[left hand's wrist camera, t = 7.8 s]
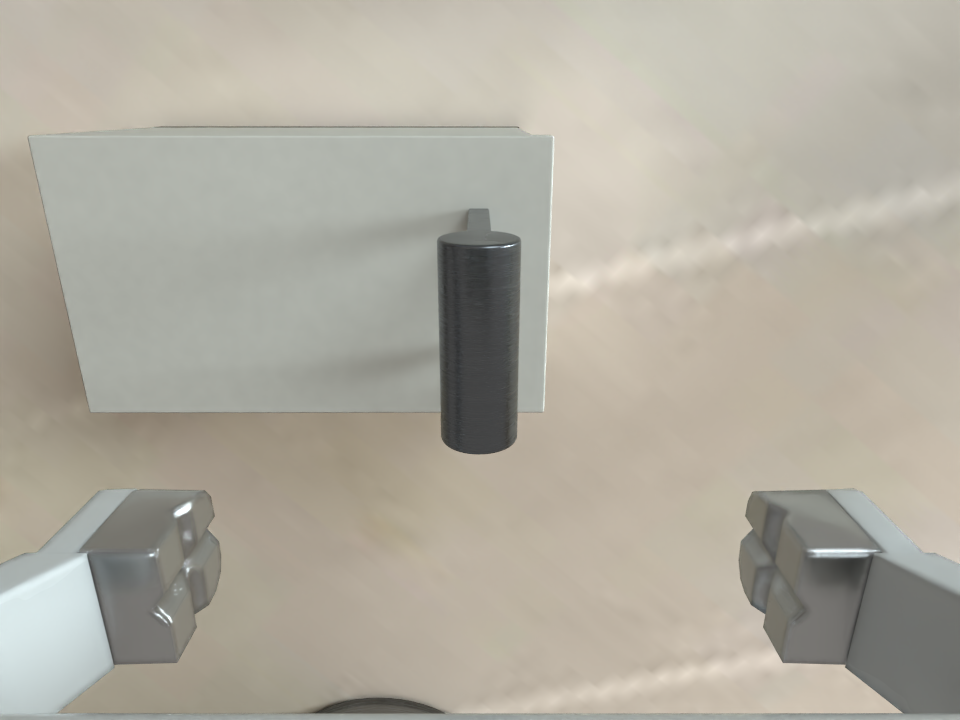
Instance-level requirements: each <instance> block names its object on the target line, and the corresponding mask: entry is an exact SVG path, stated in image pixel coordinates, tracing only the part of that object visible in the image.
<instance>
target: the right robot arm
mask: <svg viewBox="0 0 960 720" xmlns="http://www.w3.org/2000/svg"><path fill="white" fill-rule="evenodd" d="M315 714H446V713H444V712H442V711H439V710H437V709H435V708H432V707H429V706H427V705H424V704H420V703H416V702H412V701H407V700H401V699H392V698H367V699H358V700H352V701H347V702H343V703H340V704H336V705H333V706H330V707H328V708H325V709H323V710H321V711H319V712H317V713H315Z"/></svg>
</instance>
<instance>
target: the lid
mask: <svg viewBox="0 0 960 720" xmlns="http://www.w3.org/2000/svg"><path fill="white" fill-rule="evenodd" d="M28 141H29V146H30V150H31V154H32V159H33V163H34V168H35V172H36V176H37V181H38V185H39V190H40V194H41V198H42V203H43V207H44V212H45V216H46V221H47V225H48V229H49V234H50V238H51V243H52V247H53V251H54V256H55V260H56V265H57V269H58V274H59V278H60V282H61V287H62V291H63V296H64V300H65V304H66V309H67V313H68V318H69V322H70V326H71V331H72V335H73V340H74V344H75V349H76V353H77V357H78V362H79V366H80V371H81V375H82V379H83V384H84V388H85V393H86V397H87V401H88V406H89V410H90V412H91V413H382V412H441V437H442V440H443V442H444V443H445V444H446V445H447V446H448V447H450V448H451V449H453V450H456V451H459V452H463V453H468V454H490V453H495V452H499V451H502V450H505V449H507V448H509V447H510V446H511V445H513V443H514V442H515V440H516V438H517V412H544V398H545V371H546V345H547V318H548V292H549V265H550V239H551V212H552V186H553V159H554V136H551V135H32V136H28Z"/></svg>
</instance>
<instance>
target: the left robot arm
mask: <svg viewBox="0 0 960 720" xmlns="http://www.w3.org/2000/svg"><path fill="white" fill-rule="evenodd" d="M214 516H215V515H214V510H213V505H212V500H211V496H210V495H209V494H208V493H207V492H206V491H204V490H153V489H140V490H137V489H106V490H101V491H98V492H97V493H96V494H95V495H94V496H93V497H92V498H91V499H90V500H89V501H88V502H87V503H86V504H85V505H84V506H83V507H82V508H81V509H80V510H79V511H78V512H77V513H76V514H75V515H74V516H73V517H72V518H71V519H70V520H69V521H68V522H67V523H66V524H65V525H64V526H63V527H62V528H61V529H60V530H59V531H58V532H57V533H56V534H55V535H54V536H53V537H52V538H51V539H50V540H49V541H48V542H47V543H46V544H45V545H44V546H43V547H42V548H41V549H40V550H39V551H38V552H37V553H24V554H22V555H19V556H17V557H15V558H13V559H11V560H8V561H6V562H4V563H2V564H0V720H960V564H958V563H956V562H954V561H952V560H949V559H947V558H945V557H943V556H941V555H938V554H936V553H923V552H922V551H921V550H920V549H919V548H918V547H917V546H916V545H915V544H914V543H913V542H912V541H911V540H910V539H909V538H908V537H907V536H906V535H905V534H904V533H903V532H902V531H901V530H900V529H899V528H898V527H897V526H896V525H895V524H894V523H893V522H892V521H891V520H890V519H889V518H888V517H887V516H886V515H885V514H884V513H883V512H882V511H881V510H880V509H879V508H878V507H877V506H876V505H875V504H874V503H873V502H872V501H871V500H870V499H869V498H868V497H867V496H866V495H865V494H864V493H863V492H861V491H859V490H856V489H828V490H794V491H758V492H752V494H751V496H750V498H749V500H748V503H747V509H746V514H745V516H746V518H747V520H748V521H749V523H750V524H751V526H752V527H753V529H752V530H751V532H750V533H749V534H748V535H747V536H746V537H745V538H744V539H743V540H742V541H741V546H740V554H739V569H740V579H741V582H742V586H743V589H744V592H745V594H746V596H747V598H748V600H749V602H750V604H751V605H752V606H754V607H755V608H757V609H758V610H760V611H761V612H763V613H764V614H765V620H764V626H763V628H764V630H765V631H766V633H767V635H768V637H769V639H770V640H771V642H772V644H773V646H774V648H775V649H776V651H777V653H778V655H779V657H780V658H781V660H782V662H783V663H808V664H844V665H846V667H845V668H847V669H848V670H849V671H851V672H852V673H853V674H854V675H856V676H857V677H858V678H859V679H861V680H862V681H863V682H865V683H866V684H867V685H868V686H870V687H871V688H872V689H873V690H875V691H876V692H877V693H878V694H880V695H881V696H882V697H884V698H885V699H886V700H887V701H889V702H890V703H891V704H892V705H894V706H895V707H896V708H897V709H899V710H900V711H901V712H903V713H800V714H105V713H104V714H103V713H58V712H59V711H60V710H61V709H63V708H64V707H65V706H67V705H68V704H69V703H70V702H72V701H73V700H74V699H75V698H77V697H78V696H79V695H81V694H82V693H83V692H84V691H86V690H87V689H88V688H89V687H91V686H92V685H93V684H94V683H96V682H97V681H98V680H100V679H101V678H102V677H103V676H105V675H106V674H107V673H108V672H110V671H111V670H112V669H114V665H116V664H151V663H177V662H178V660H179V658H180V657H181V655H182V653H183V651H184V649H185V648H186V646H187V644H188V642H189V640H190V639H191V637H192V635H193V633H194V631H195V629H196V628H197V626H196V620H195V614H196V613H197V612H199V611H200V610H202V609H203V608H205V607H206V606H208V605H209V604H210V602H211V600H212V598H213V596H214V594H215V592H216V590H217V585H218V581H219V577H220V572H221V552H220V545H219V541H218V540H217V539H216V538H215V537H214V536H213V535H212V534H211V533H210V532H209V530H208V529H207V527H208V526H209V524H210V523H211V521H212V520H213V518H214Z"/></svg>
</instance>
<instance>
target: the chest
mask: <svg viewBox="0 0 960 720" xmlns="http://www.w3.org/2000/svg"><path fill="white" fill-rule="evenodd" d="M47 135H531V134H529V133H527V132H525V131H523V130H522V129H520V128H519V127H153V128H138V129H123V130H108V131H93V132H77V133H62V134H47Z"/></svg>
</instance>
